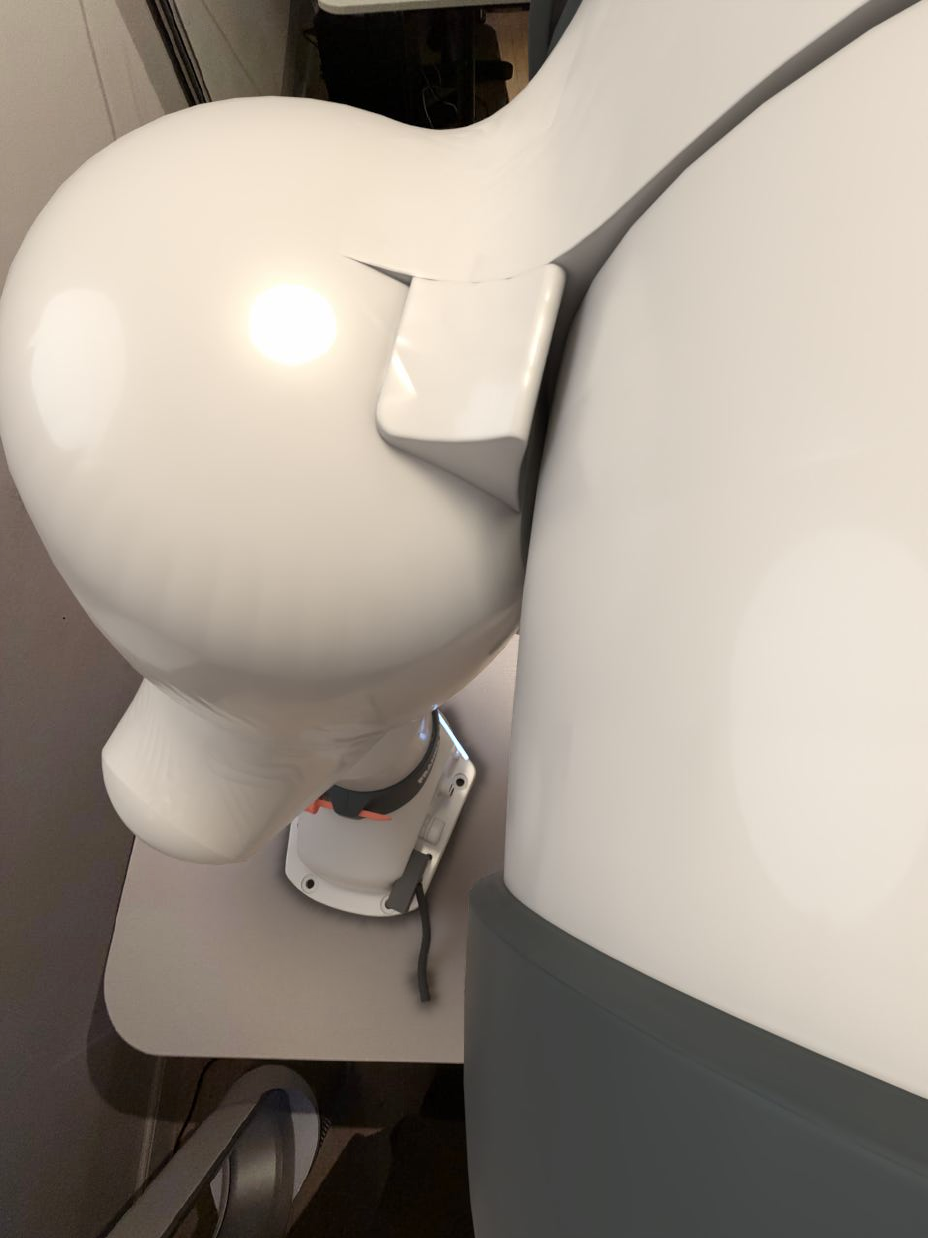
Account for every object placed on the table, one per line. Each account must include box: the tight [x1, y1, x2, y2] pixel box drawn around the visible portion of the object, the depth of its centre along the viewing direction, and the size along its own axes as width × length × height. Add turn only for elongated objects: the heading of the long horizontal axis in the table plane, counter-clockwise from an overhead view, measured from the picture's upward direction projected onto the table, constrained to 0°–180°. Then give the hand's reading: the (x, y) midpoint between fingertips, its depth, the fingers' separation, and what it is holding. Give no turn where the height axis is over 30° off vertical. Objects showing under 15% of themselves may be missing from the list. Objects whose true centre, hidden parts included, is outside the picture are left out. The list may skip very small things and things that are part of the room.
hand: (684, 723), depth 66 cm, fingers open, 4 cm apart
